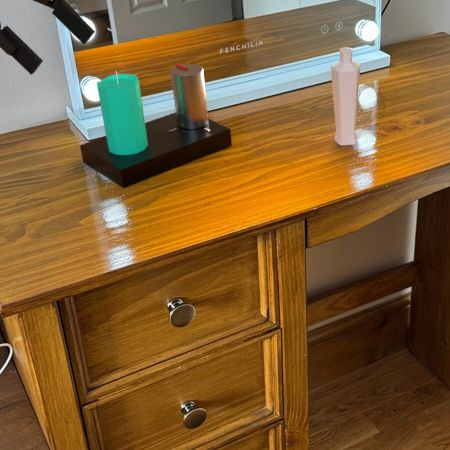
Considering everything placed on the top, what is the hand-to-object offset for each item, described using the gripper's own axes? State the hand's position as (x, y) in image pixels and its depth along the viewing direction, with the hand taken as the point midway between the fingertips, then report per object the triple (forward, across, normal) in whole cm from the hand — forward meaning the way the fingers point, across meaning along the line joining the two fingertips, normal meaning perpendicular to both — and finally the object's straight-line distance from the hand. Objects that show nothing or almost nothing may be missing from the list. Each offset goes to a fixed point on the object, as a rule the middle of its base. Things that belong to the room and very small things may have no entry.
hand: (64, 52), depth 111 cm
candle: (+16, 0, -5) cm, 16 cm away
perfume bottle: (+39, -16, +15) cm, 45 cm away
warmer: (+20, -4, -5) cm, 21 cm away
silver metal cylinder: (+20, -11, 0) cm, 23 cm away
